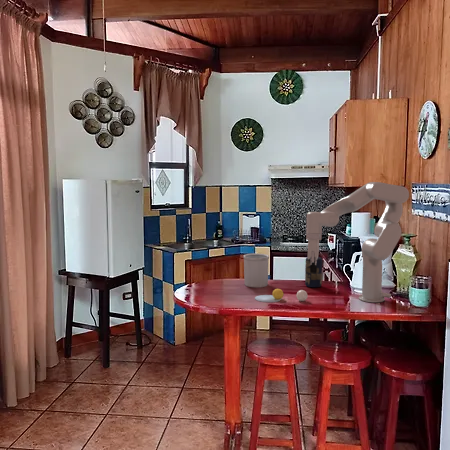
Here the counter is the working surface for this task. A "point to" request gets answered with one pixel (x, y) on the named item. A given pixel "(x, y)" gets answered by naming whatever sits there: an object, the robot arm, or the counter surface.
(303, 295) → the cue ball
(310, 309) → the counter surface
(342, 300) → the counter surface
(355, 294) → the counter surface
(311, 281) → the blue cylindrical canister
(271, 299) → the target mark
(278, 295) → the object ball
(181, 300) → the counter surface
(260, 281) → the utensil holder
